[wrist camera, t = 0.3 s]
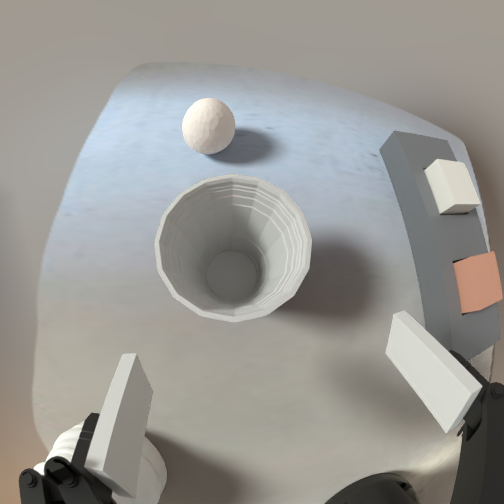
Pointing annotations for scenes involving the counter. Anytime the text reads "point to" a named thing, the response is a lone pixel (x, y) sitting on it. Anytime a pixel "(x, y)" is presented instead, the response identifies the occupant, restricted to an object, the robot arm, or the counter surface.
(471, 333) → the key console
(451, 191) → the offwhite key
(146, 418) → the robot arm
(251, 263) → the plastic cup
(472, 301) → the terracotta key
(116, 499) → the honey pot
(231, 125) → the egg
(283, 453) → the counter surface
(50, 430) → the counter surface
